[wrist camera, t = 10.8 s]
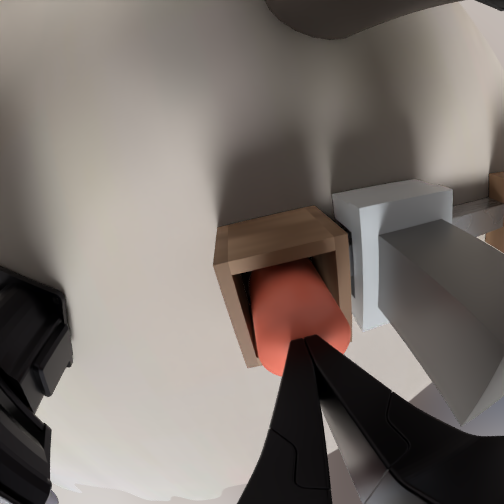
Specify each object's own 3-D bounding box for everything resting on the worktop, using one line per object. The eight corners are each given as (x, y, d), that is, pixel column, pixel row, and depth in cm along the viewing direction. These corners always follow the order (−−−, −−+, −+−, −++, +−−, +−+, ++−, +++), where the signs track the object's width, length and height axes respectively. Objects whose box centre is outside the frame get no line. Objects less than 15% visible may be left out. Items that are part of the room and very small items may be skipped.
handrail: (320, 266, 14) (330, 282, 12) (317, 238, 13) (327, 251, 12) (487, 219, 14) (502, 226, 12) (488, 197, 13) (504, 203, 12)
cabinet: (242, 314, 15) (247, 368, 11) (217, 227, 13) (213, 265, 9) (325, 294, 15) (351, 341, 11) (314, 205, 13) (347, 233, 9)
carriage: (341, 298, 15) (431, 453, 6) (331, 192, 12) (506, 316, 3) (414, 275, 15) (522, 387, 5) (415, 177, 12) (580, 251, 3)
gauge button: (256, 318, 12) (267, 385, 9) (241, 260, 11) (248, 321, 8) (320, 303, 12) (350, 363, 9) (312, 243, 11) (350, 295, 8)
